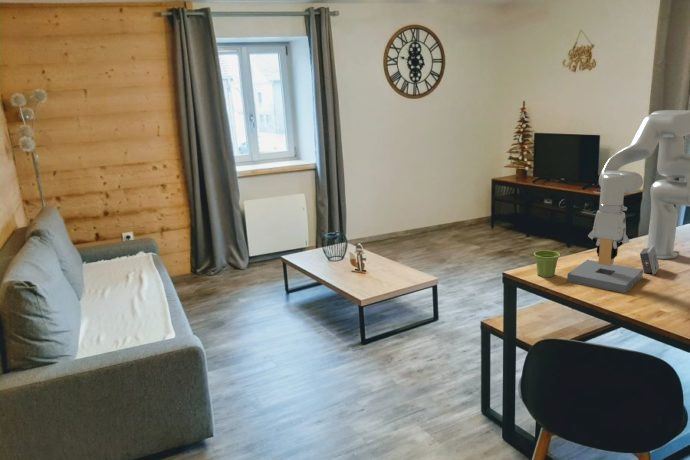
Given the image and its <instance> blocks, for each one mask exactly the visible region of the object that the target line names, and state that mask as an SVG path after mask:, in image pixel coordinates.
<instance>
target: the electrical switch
mask: <svg viewBox="0 0 690 460" xmlns="http://www.w3.org/2000/svg"><path fill="white" fill-rule="evenodd" d="M639 256H640V261H641V265H642V270H643V274H648V273H649V274H652V275H654V276H655V275H656V273H657V272H658V270H659V269H660V264H659V260H658V259H659V258H657V255H656V251H655V247H654V246H651V247H650V248H647V247H646V249H645V248H643V249H642V250H641V251H640V253H639Z"/></svg>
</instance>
